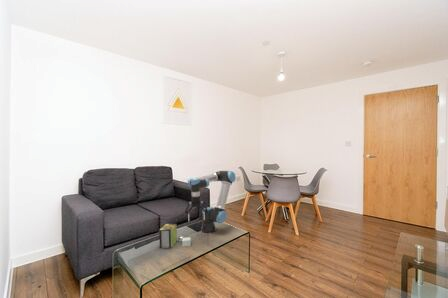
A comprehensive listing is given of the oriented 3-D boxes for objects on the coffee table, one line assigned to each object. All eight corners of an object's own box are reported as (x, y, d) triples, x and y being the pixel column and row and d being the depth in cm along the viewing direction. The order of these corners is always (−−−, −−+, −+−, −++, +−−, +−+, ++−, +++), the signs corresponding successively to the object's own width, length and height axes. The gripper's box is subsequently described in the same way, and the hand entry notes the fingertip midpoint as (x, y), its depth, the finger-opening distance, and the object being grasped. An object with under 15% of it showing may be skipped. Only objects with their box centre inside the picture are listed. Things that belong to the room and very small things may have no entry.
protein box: (177, 240, 190) (176, 223, 191) (171, 248, 175) (170, 229, 175) (166, 240, 191) (165, 223, 192) (159, 248, 176) (158, 229, 176)
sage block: (182, 243, 184) (182, 237, 184) (190, 242, 185) (190, 237, 185) (182, 246, 177) (182, 240, 177) (190, 246, 178) (190, 240, 178)
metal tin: (178, 239, 192) (178, 235, 192) (185, 239, 193) (185, 234, 193) (177, 242, 186) (177, 238, 186) (184, 242, 187) (184, 237, 187)
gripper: (181, 197, 177) (182, 222, 177) (210, 195, 181) (211, 220, 181) (181, 196, 185) (182, 220, 184) (209, 194, 189) (210, 217, 188)
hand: (196, 220), depth 182 cm, fingers open, 13 cm apart
